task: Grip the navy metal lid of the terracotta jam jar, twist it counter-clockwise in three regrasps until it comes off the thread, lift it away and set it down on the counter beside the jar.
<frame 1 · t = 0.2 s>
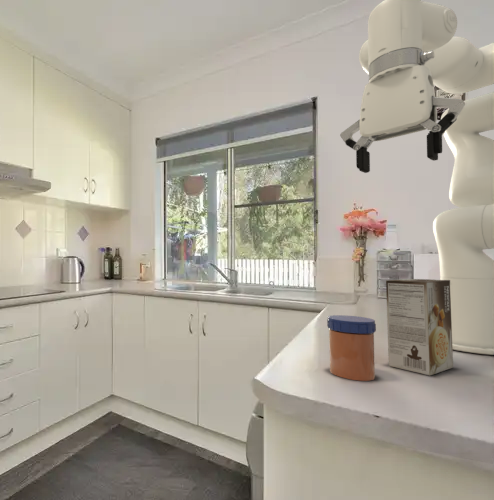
hand: (396, 165, 59), 37 cm above the counter, tool pointing down, fingers open, 9 cm apart
coffee box: (420, 368, 62), on the counter
lid: (350, 320, 58), point 9 cm above the counter, screwed on, not yet turned
jar: (351, 374, 58), on the counter
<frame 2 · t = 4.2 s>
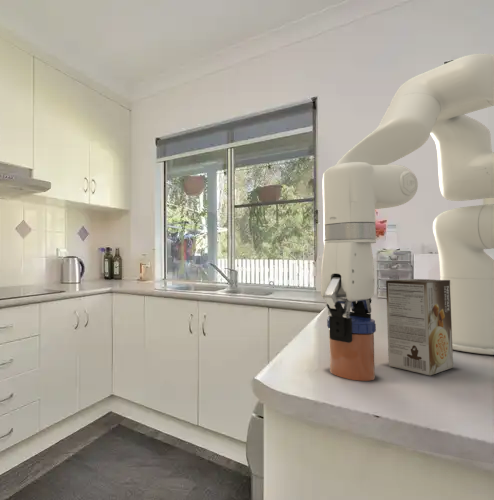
hand: (350, 337, 58), 6 cm above the counter, tool pointing down, fingers closed on lid, 6 cm apart
lid: (350, 320, 58), point 9 cm above the counter, screwed on, not yet turned, touching gripper
everything else where it was.
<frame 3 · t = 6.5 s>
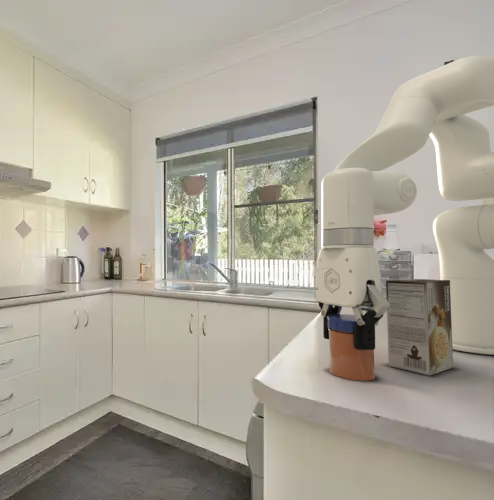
hand: (347, 342, 58), 5 cm above the counter, tool pointing down, fingers closed on lid, 6 cm apart
lid: (349, 319, 58), point 9 cm above the counter, turned 60° so far, risen 0.1 cm, still on its thread, touching gripper
jar: (351, 373, 58), on the counter, touching gripper
everything else where it was.
when the fingers open (0 cm above the counter, at t = 20.5 s): lid drops 1 cm, point 2 cm above the counter.
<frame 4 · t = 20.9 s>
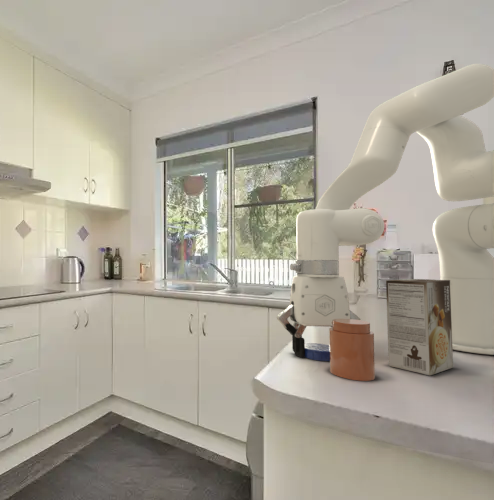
hand: (318, 355, 69), 0 cm above the counter, tool pointing down, fingers open, 6 cm apart
lid: (318, 348, 69), point 2 cm above the counter, off its thread, touching gripper
jar: (351, 374, 58), on the counter
everything else where it was.
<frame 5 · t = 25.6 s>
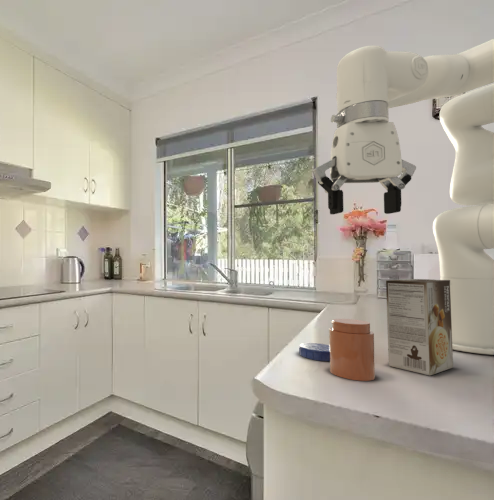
hand: (364, 213, 61), 28 cm above the counter, tool pointing down, fingers open, 9 cm apart
lid: (318, 348, 69), point 1 cm above the counter, off its thread
everything else where it was.
at the end: lid came off its thread; lid point 1.5 cm above the counter; the gripper is holding nothing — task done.
